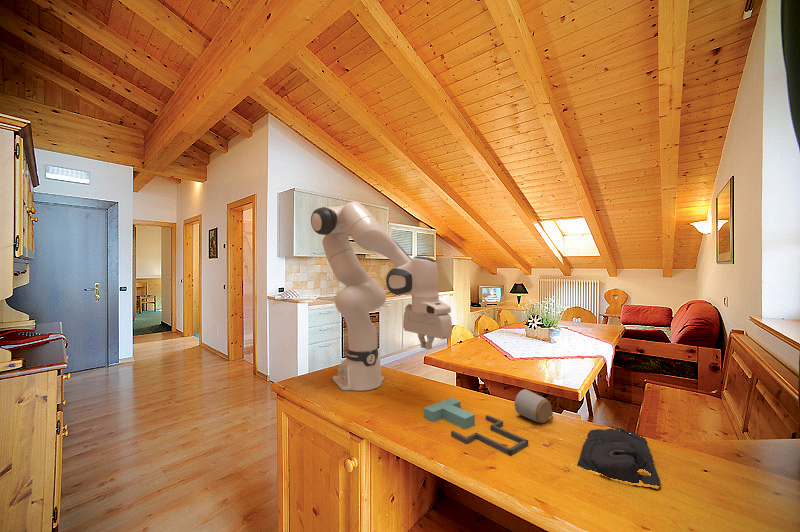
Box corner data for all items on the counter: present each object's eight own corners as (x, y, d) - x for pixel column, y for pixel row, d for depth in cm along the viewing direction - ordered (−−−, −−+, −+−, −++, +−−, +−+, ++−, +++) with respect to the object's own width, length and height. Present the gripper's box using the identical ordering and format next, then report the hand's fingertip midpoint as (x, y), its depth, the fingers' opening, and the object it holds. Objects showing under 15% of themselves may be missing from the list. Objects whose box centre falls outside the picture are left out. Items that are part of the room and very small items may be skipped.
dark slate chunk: (656, 447, 85) (656, 428, 85) (661, 498, 67) (660, 473, 67) (587, 431, 93) (586, 414, 93) (574, 471, 75) (574, 450, 75)
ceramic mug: (537, 427, 95) (537, 400, 95) (514, 416, 102) (513, 391, 102) (560, 418, 101) (560, 393, 101) (536, 409, 108) (536, 385, 108)
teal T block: (423, 417, 103) (423, 407, 103) (451, 406, 110) (451, 397, 110) (455, 433, 93) (455, 423, 93) (483, 420, 100) (483, 410, 100)
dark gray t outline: (451, 435, 91) (450, 431, 91) (487, 418, 101) (487, 414, 101) (500, 461, 79) (500, 456, 79) (536, 439, 88) (536, 435, 88)
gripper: (398, 304, 117) (399, 344, 117) (440, 309, 100) (441, 356, 101) (412, 302, 121) (413, 341, 121) (454, 307, 104) (455, 352, 104)
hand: (426, 348), depth 110 cm, fingers closed
